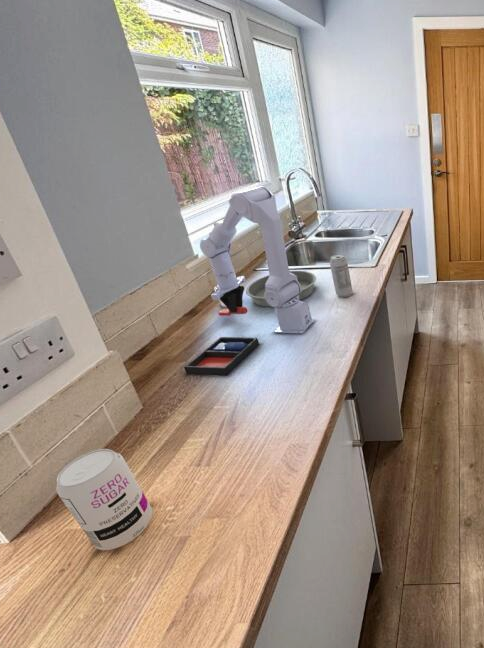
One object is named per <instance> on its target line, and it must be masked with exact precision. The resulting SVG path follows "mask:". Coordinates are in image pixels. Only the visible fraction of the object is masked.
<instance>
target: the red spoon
mask: <svg viewBox="0 0 484 648" xmlns="http://www.w3.org/2000/svg"><path fill="white" fill-rule="evenodd" d="M248 310H249V309H248V308H247V307H246V306H242V307H237V312H230V311H229V309H228V308H227V307H224V308H223V309H221V310H220V311H219V312H218V316H220V317H230V316H231V315H246V314H247V313H248Z"/></svg>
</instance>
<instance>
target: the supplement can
mask: <svg viewBox="0 0 484 648" xmlns="http://www.w3.org/2000/svg"><path fill="white" fill-rule="evenodd" d="M56 482H57V483H56V486H55V492H56V493H57V495H58V497H59V498H60V500H61V501H62V502H63V504H64V505H65V507H66V508H67V510H68V511H69V512H70V514H71V515H72V517H73V518H74V519H75V521H76V522H77V524H78V526H79V527H80V528H81V529H82V531H83V533H84V534H85V535H86V537H87V539H89V541H90V543H91V544H92V545H93V547H94V548H95V549H96V550H99V551H110V550H111V551H112V550H116V549H118V548H121V547H123V546H126V545H128V544H129V543H131V542H132V541H134V540H136V539H137V538H138V537H139V536H140V535H142V533H143V532H144V531H145V529H146V528H147V527H148V525H149V524H150V523H151V520H152V519H153V515H154V514H153V513H154V512H153V511H154V509H153V508H152V506H151V504H150V502H149V500H148V499H147V497H146V495H145V494H144V492H143V490H142V487H140V485H139V483H138V481H137V479H136V478H135V476H134V474H133V472H132V471H131V469H130V467H129V465H128V463H127V461H126V460H125V458H124V457H123V456H122V454H121V453H119V452H115V451H114V450H112V449H109V448H100V449H95V450H92V451H89V452H87V453H84V454H83V455H80V456H78V457H77V458H75V459H73V460H72V461H70V462H69V463H68V464H67V465H66V466H64V467H63V468H62V469H61V471H60V472H59V473H58V474H57V478H56Z"/></svg>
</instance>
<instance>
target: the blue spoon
mask: <svg viewBox="0 0 484 648" xmlns="http://www.w3.org/2000/svg"><path fill="white" fill-rule="evenodd" d="M246 346H247V345H246V344H245V343H243V342H228V343H220V344H218V345H217V346H216V347H215V348H214V349H213V351H228V350H231V351H242V350H243V349H244V348H245V347H246Z"/></svg>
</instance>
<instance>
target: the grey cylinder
mask: <svg viewBox="0 0 484 648" xmlns="http://www.w3.org/2000/svg"><path fill="white" fill-rule="evenodd" d="M329 267H330V271H331V272H330V273H331V276H332V281H333V287H334V291H335V295H336V296H338V298H347V297H350V296H351V295H352V294H353V285H352V280H351V275H350V270H349V263H348V259H347V258H346V257H345V254H341V253H340V254H334V255H331V256H330V260H329Z"/></svg>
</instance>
